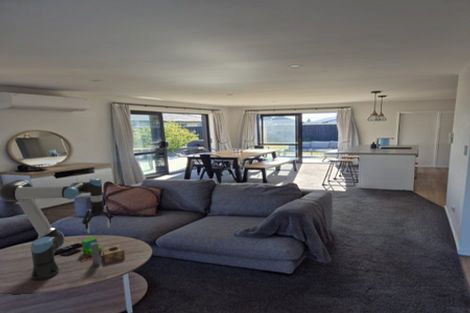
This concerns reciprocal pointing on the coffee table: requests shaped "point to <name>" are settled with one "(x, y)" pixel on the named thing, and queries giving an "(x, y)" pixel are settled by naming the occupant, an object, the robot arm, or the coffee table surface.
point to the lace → (89, 259)
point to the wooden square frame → (113, 253)
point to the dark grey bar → (95, 253)
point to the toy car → (89, 246)
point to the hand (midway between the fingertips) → (98, 230)
